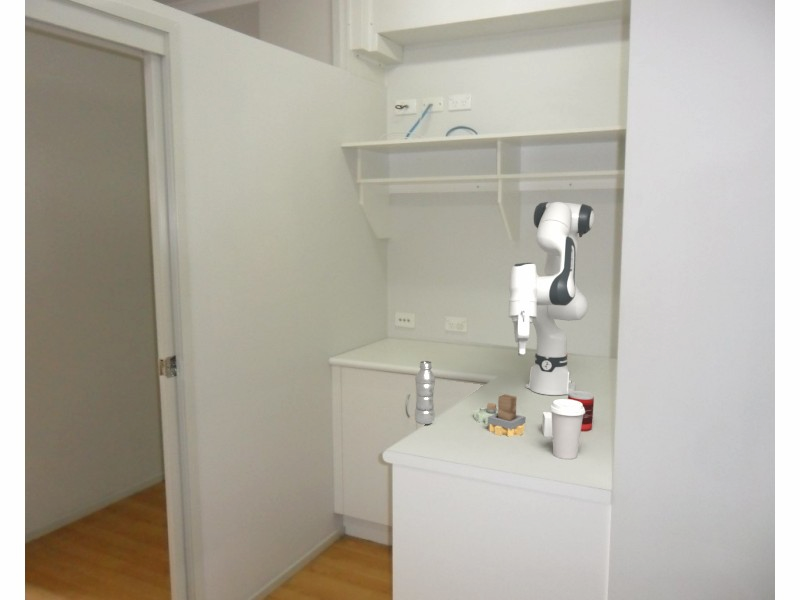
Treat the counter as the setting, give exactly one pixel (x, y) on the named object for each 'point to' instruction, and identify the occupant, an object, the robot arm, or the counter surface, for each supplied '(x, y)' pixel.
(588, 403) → the canned food
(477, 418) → the gear
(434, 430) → the counter surface
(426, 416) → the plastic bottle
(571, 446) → the coffee cup
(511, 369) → the counter surface
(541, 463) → the counter surface
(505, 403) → the peg
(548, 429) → the white cube
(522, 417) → the frame
